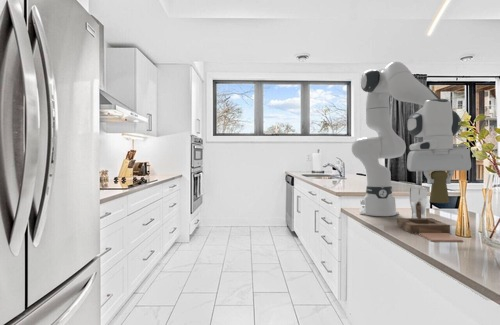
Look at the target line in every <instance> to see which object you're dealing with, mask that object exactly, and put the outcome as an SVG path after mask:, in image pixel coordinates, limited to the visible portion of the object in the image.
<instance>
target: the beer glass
mask: <svg viewBox="0 0 500 325" xmlns="http://www.w3.org/2000/svg"><path fill="white" fill-rule="evenodd" d="M408 196H409V204H410V209H411V218H427V217H426V210H427V204H428V190H427V187H422V186H421V187H419V186H415V187H414V186H411V187H409V195H408Z"/></svg>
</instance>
